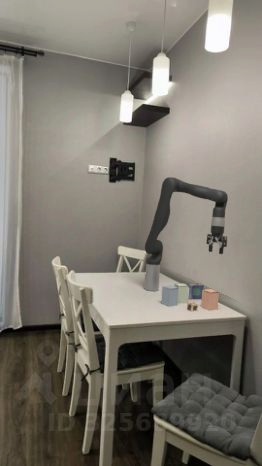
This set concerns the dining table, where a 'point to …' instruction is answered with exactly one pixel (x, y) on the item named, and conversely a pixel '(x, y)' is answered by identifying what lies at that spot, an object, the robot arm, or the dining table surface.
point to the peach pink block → (209, 299)
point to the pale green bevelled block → (182, 292)
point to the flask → (195, 291)
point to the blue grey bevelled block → (169, 295)
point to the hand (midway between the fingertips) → (215, 252)
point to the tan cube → (192, 306)
